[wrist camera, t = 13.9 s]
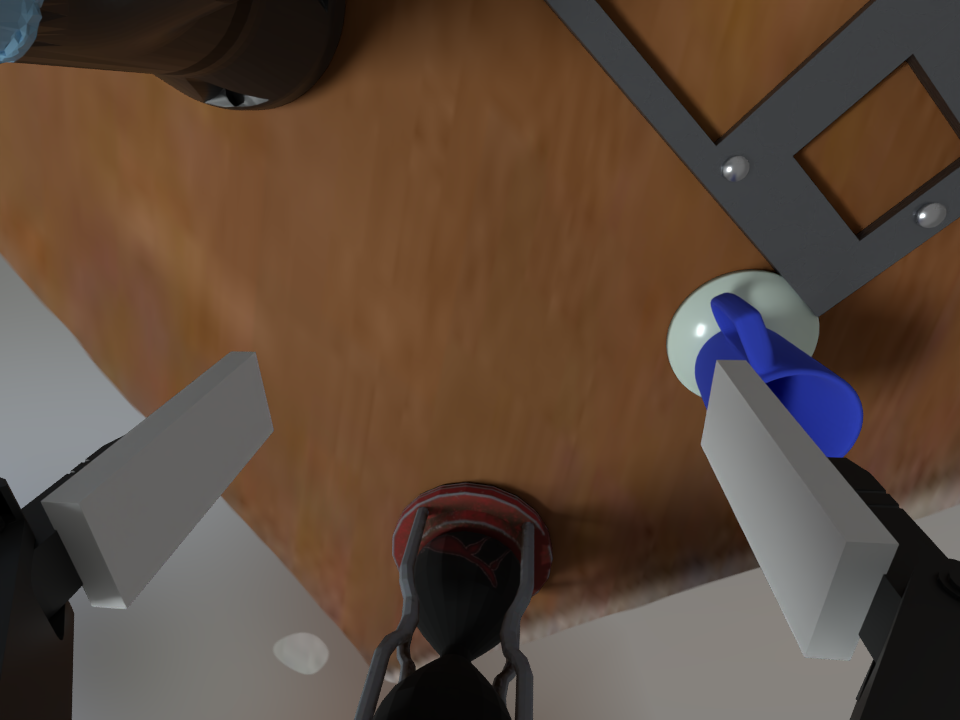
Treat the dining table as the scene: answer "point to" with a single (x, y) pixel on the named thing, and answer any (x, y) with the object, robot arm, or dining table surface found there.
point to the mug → (782, 375)
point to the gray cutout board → (804, 140)
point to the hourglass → (461, 604)
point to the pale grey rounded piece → (757, 289)
